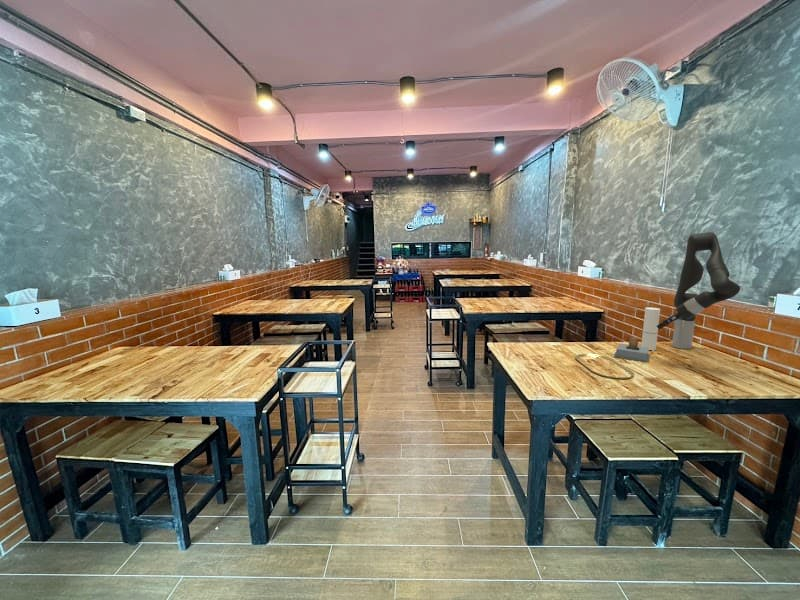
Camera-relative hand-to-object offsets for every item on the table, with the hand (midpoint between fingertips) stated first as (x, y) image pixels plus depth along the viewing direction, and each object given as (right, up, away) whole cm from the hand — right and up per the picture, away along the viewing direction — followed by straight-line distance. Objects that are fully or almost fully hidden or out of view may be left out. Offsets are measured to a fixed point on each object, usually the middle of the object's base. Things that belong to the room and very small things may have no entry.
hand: (660, 326), depth 179 cm
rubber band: (-34, -21, -5) cm, 40 cm away
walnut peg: (-8, -17, +10) cm, 21 cm away
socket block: (-8, -18, +10) cm, 22 cm away
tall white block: (+10, -16, +22) cm, 29 cm away
